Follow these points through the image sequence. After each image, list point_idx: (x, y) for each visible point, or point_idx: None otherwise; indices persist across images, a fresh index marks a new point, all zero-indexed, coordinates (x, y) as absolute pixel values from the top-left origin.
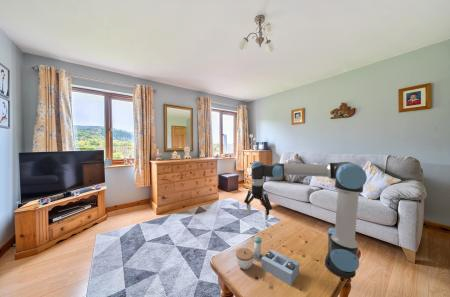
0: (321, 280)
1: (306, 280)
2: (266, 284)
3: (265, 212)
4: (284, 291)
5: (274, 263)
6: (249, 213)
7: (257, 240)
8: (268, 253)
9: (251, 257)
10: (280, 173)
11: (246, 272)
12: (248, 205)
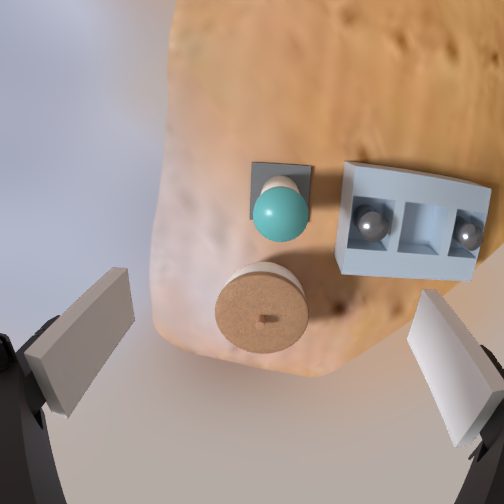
0: None
1: None
2: (380, 311)
3: (451, 417)
4: None
5: (407, 266)
6: (129, 299)
7: (286, 228)
8: (369, 237)
9: (307, 320)
10: None
11: None
12: (71, 410)
